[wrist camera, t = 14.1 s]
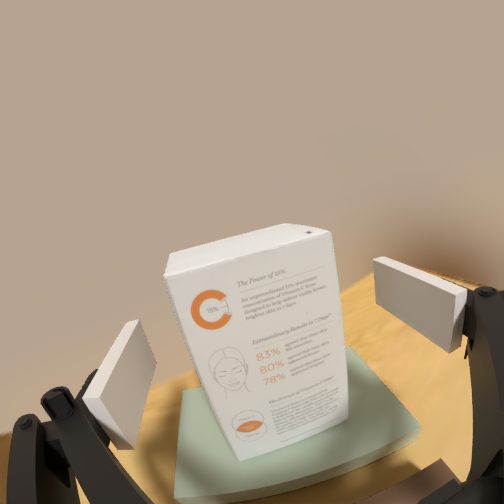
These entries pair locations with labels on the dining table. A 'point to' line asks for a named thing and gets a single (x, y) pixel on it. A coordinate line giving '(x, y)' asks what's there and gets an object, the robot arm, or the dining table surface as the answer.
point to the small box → (264, 333)
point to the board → (292, 456)
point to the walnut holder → (415, 486)
